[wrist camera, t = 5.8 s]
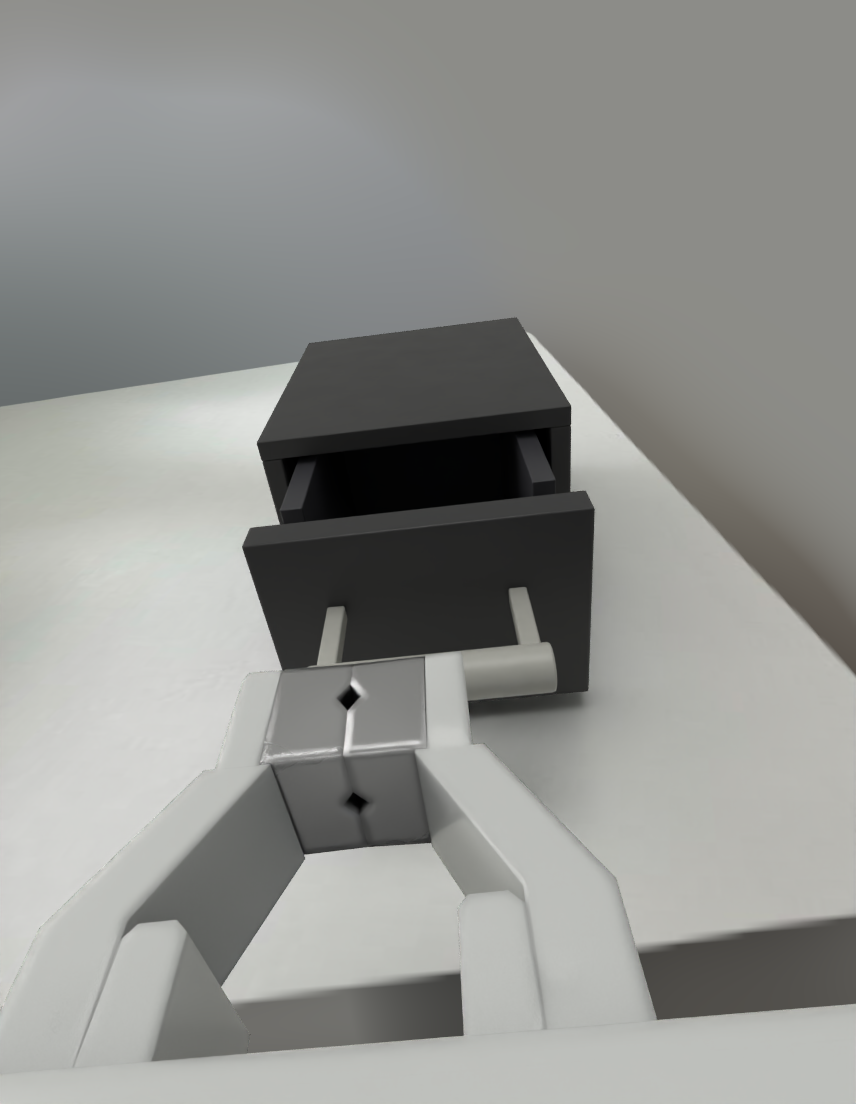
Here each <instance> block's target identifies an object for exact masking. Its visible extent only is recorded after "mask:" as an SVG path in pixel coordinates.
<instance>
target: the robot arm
mask: <svg viewBox="0 0 856 1104" xmlns="http://www.w3.org/2000/svg"><path fill="white" fill-rule="evenodd" d="M420 843H432V847H433V848H434V850H435V851H436V853H437V854H438V856H439V857H440V859H441V860H442V862H443V863H444V865H445V866H446V868H447V869H448V871H449V873H450V874H451V876H452V877H453V879H454V880H455V882H456V883H457V885H458V886H459V888H460V889H461V891H462V892H463V894H464V895H465V897H466V898H465V899H464V900H463V902H462V903H461V904H460V905H459V907H458V908H457V910H458V929H459V949H460V968H461V986H462V1007H463V1023H464V1024H463V1026H464V1036H457V1037H445V1038H432V1039H420V1040H408V1041H395V1042H384V1043H372V1044H360V1045H348V1046H334V1047H324V1048H323V1047H322V1048H310V1049H298V1050H286V1051H274V1052H261V1053H250V1054H247V1051H248V1045H249V1039H250V1034H249V1032H248V1030H247V1029H246V1027H245V1026H244V1024H243V1022H242V1021H241V1019H240V1017H239V1016H238V1014H237V1013H236V1011H235V1009H234V1008H233V1006H232V1004H231V1003H230V1001H229V1000H228V998H227V996H226V995H225V993H224V991H223V990H222V988H221V986H222V985H223V983H224V982H225V980H226V979H227V977H228V975H229V974H230V972H231V971H232V969H233V968H234V966H235V965H236V963H237V962H238V960H239V959H240V957H241V956H242V954H243V953H244V951H245V950H246V948H247V947H248V945H249V943H250V942H251V940H252V939H253V937H254V936H255V934H256V933H257V931H258V930H259V928H260V927H261V925H262V924H263V922H264V921H265V919H266V918H267V916H268V915H269V913H270V911H271V910H272V908H273V907H274V905H275V904H276V902H277V901H278V899H279V898H280V896H281V895H282V893H283V892H284V890H285V889H286V887H287V886H288V884H289V882H290V881H291V879H292V878H293V876H294V875H295V873H296V872H297V870H298V869H299V867H300V866H301V864H302V863H303V861H304V860H305V857H304V855H305V854H313V853H321V852H330V851H338V850H346V849H354V848H363V847H374V846H389V845H405V844H420ZM0 1104H856V1004H852V1005H851V1004H850V1005H838V1006H825V1007H813V1008H802V1009H789V1010H777V1011H764V1012H752V1013H740V1014H728V1015H715V1016H702V1017H691V1018H678V1019H666V1020H657V1018H656V1014H655V1011H654V1007H653V1004H652V1000H651V997H650V993H649V991H648V987H647V984H646V980H645V976H644V973H643V969H642V966H641V963H640V959H639V955H638V952H637V949H636V945H635V942H634V938H633V935H632V931H631V928H630V924H629V921H628V917H627V914H626V911H625V907H624V904H623V900H622V897H621V893H620V890H619V886H618V883H617V879H616V877H615V876H614V875H613V874H612V873H611V872H610V871H609V870H608V869H607V868H606V867H605V866H604V865H603V864H602V863H601V862H600V861H599V860H598V859H597V858H596V857H595V856H594V855H593V854H592V853H591V852H590V851H589V850H588V849H587V848H586V847H585V846H584V845H583V844H582V843H581V842H580V841H579V840H578V839H577V838H576V837H575V836H574V835H573V834H572V833H571V832H570V831H569V830H568V829H567V828H566V827H565V826H564V824H563V823H562V822H561V821H560V820H559V819H558V818H557V817H556V816H555V815H554V814H553V813H552V812H551V811H550V810H549V809H548V808H547V807H546V806H545V805H544V804H543V803H542V802H541V801H540V800H539V799H538V798H537V797H536V796H535V795H534V794H533V793H532V792H531V791H530V790H529V789H528V788H527V787H526V786H525V785H524V784H523V783H522V782H521V781H520V780H519V779H518V778H517V777H516V776H515V775H514V774H513V773H512V771H511V770H510V769H509V768H508V767H507V766H506V765H505V764H504V763H503V762H502V761H501V760H500V759H499V758H498V757H497V756H496V755H495V754H494V753H493V752H492V751H491V750H490V749H489V748H488V747H487V746H486V745H485V744H472V735H471V726H470V717H469V708H468V699H467V690H466V681H465V672H464V663H463V655H462V653H461V652H460V651H458V652H449V653H441V654H433V655H426V656H420V657H411V658H402V659H393V660H384V661H375V662H366V663H357V664H347V665H334V666H321V667H309V668H296V669H285V670H283V671H268V672H254V673H249V674H248V675H247V676H246V678H245V679H244V680H243V681H242V684H241V687H240V691H239V694H238V697H237V700H236V703H235V707H234V710H233V713H232V716H231V719H230V723H229V726H228V729H227V732H226V735H225V738H224V742H223V745H222V748H221V751H220V754H219V758H218V761H217V764H216V767H215V769H214V770H206V771H203V772H202V773H201V774H200V775H199V776H198V777H196V778H195V779H194V780H193V781H192V782H191V783H190V784H189V785H188V786H187V787H186V788H185V789H184V790H183V791H182V792H181V793H180V794H179V795H178V796H177V797H176V798H175V799H174V800H172V801H171V802H170V803H169V804H168V805H167V806H166V807H165V808H164V809H163V810H162V811H161V812H160V813H159V814H158V815H157V816H156V817H155V818H154V819H153V820H152V821H151V822H150V823H148V824H147V825H146V826H145V827H144V828H143V829H142V830H141V831H140V832H139V833H138V834H137V835H136V836H135V837H134V838H133V839H132V840H131V841H130V842H129V843H128V844H127V845H126V846H124V847H123V848H122V849H121V850H120V851H119V852H118V853H117V854H116V855H115V856H114V857H113V858H112V859H111V860H110V861H109V862H108V863H107V864H106V865H105V866H104V867H103V868H102V869H100V870H99V871H98V872H97V873H96V874H95V875H94V876H93V877H92V878H91V879H90V880H89V881H88V882H87V883H86V884H85V885H84V886H83V887H82V888H81V889H80V890H79V891H78V892H76V893H75V894H74V895H73V896H72V897H71V898H70V899H69V900H68V901H67V902H66V903H65V904H64V905H63V906H62V907H61V908H60V909H59V910H58V911H57V912H56V913H55V914H54V915H52V916H51V917H50V918H49V919H48V920H47V921H46V922H45V923H44V924H43V925H42V926H41V927H40V928H39V930H38V932H37V934H36V936H35V938H34V940H33V942H32V945H31V947H30V949H29V951H28V953H27V955H26V957H25V959H24V961H23V963H22V966H21V968H20V970H19V972H18V974H17V976H16V978H15V980H14V982H13V984H12V986H11V989H10V991H9V993H8V995H7V997H6V999H5V1001H4V1003H3V1005H2V1007H1V1010H0Z"/></svg>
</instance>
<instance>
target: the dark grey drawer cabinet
mask: <svg viewBox="0 0 856 1104" xmlns="http://www.w3.org/2000/svg"><path fill="white" fill-rule="evenodd" d="M570 425H571V405H570V403H569V402H568V400H567V399H566V397H565V395H564V394H563V392H562V390H561V389H560V387H559V386H558V384H557V382H556V381H555V379H554V377H553V376H552V374H551V373H550V371H549V369H548V368H547V366H546V364H545V363H544V361H543V360H542V358H541V356H540V355H539V353H538V351H537V350H536V348H535V347H534V345H533V343H532V342H531V340H530V338H529V337H528V335H527V334H526V332H525V330H524V329H523V327H522V326H521V324H520V322H519V321H518V319H517V318H508V319H500V320H492V321H484V322H476V323H468V324H460V325H452V326H444V327H436V328H428V329H420V330H413V331H404V332H395V333H388V334H379V335H372V336H363V337H355V338H348V339H339V340H331V341H323V342H315V343H309V344H308V346H307V348H306V350H305V352H304V354H303V356H302V358H301V360H300V361H299V363H298V365H297V367H296V369H295V371H294V373H293V375H292V377H291V379H290V381H289V382H288V384H287V386H286V388H285V390H284V392H283V394H282V396H281V398H280V400H279V401H278V403H277V405H276V407H275V409H274V411H273V413H272V415H271V417H270V419H269V421H268V422H267V424H266V426H265V428H264V430H263V432H262V434H261V436H260V438H259V440H258V441H257V446H258V449H259V453H260V456H261V460H262V461H263V466H264V469H265V473H266V477H267V480H268V484H269V487H270V491H271V494H272V498H273V501H274V505H275V508H276V512H277V515H278V519H279V522H280V525H281V524H283V521H282V517H281V513H280V509H281V506H282V503H283V501H284V498H285V495H286V492H287V490H288V487H289V484H290V481H291V479H292V476H293V473H294V470H295V468H296V465H297V462H298V459H299V457H300V456H309V455H317V454H326V453H335V452H343V451H352V450H360V449H369V448H378V447H386V446H395V445H403V444H412V443H421V442H429V441H438V440H447V439H455V438H464V437H472V436H481V435H490V434H498V433H507V432H515V431H524V430H533V429H534V431H535V433H536V436H537V438H538V440H539V443H540V445H541V447H542V449H543V452H544V454H545V456H546V459H547V461H548V463H549V466H550V468H551V470H552V473H553V475H554V477H555V480H556V494H559V493H568V492H570V465H571V426H570Z"/></svg>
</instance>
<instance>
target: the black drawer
mask: <svg viewBox="0 0 856 1104" xmlns="http://www.w3.org/2000/svg"><path fill="white" fill-rule="evenodd" d="M594 510H595V509H594V507H593V505H592V503H591V501H590V499H589V497H588V495H587V493H586V491H577V492H568V493H559V494H556V480H555V477H554V475H553V473H552V470H551V468H550V466H549V463H548V461H547V459H546V456H545V454H544V452H543V449H542V447H541V445H540V443H539V440H538V438H537V436H536V433H535V431H534V429H533V430H524V431H515V432H507V433H498V434H490V435H481V436H472V437H464V438H455V439H447V440H438V441H429V442H421V443H412V444H403V445H395V446H386V447H378V448H369V449H360V450H352V451H343V452H335V453H326V454H317V455H309V456H300V457H299V459H298V462H297V465H296V468H295V470H294V473H293V476H292V479H291V481H290V484H289V487H288V490H287V492H286V495H285V498H284V501H283V503H282V506H281V509H280V513H281V517H282V521H283V524H281V525H272V526H263V527H254V528H250V530H249V532H248V534H247V537H246V539H245V541H244V544H243V546H242V548H243V551H244V554H245V557H246V561H247V564H248V567H249V570H250V573H251V576H252V579H253V582H254V585H255V588H256V591H257V594H258V597H259V600H260V603H261V606H262V609H263V612H264V615H265V618H266V621H267V624H268V627H269V630H270V633H271V637H272V640H273V643H274V646H275V649H276V652H277V655H278V658H279V661H280V664H281V667H282V670H285V669H296V668H309V667H321V666H334V665H347V664H357V663H366V662H375V661H384V660H393V659H402V658H411V657H420V656H426V655H433V654H441V653H449V652H458V651H460V652H461V653H462V655H463V663H464V672H465V681H466V690H467V699H468V703H471V702H481V701H491V700H501V699H512V698H522V697H532V696H543V695H553V694H563V693H573V692H584V691H588V685H589V656H590V627H591V598H592V569H593V540H594Z"/></svg>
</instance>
